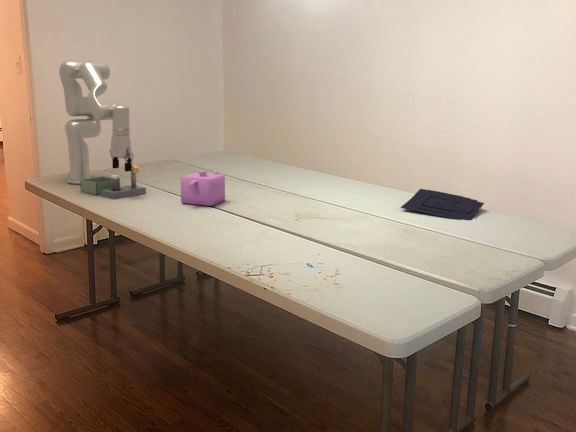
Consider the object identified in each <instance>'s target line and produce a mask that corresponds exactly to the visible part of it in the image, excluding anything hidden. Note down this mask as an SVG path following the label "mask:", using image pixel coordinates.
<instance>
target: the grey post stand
mask: <svg viewBox="0 0 576 432" xmlns="http://www.w3.org/2000/svg"><path fill="white" fill-rule="evenodd" d="M130 183H131V184H130V185H123V186H120V191H112V188H110V189H103V190H101V195H100V197H102V198H106V199H110V200H117V199H119V200H120V199H122V198H123V199H124V198H130V197H135V196H141V195H147V192H146V191H147V188H146V187H145V186H140V185H137V173H134V172H133V171H132V169H131V171H130Z"/></svg>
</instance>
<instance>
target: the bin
mask: <svg viewBox="0 0 576 432" xmlns="http://www.w3.org/2000/svg"><path fill="white" fill-rule="evenodd" d="M79 185H80V193H83V194H86V195H91V196H97V197H99V196H101V190H103V189H110V188H112V177H109V176H103V175H102V176H96V177H90V178H88V179H81V180H80V184H79Z"/></svg>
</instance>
